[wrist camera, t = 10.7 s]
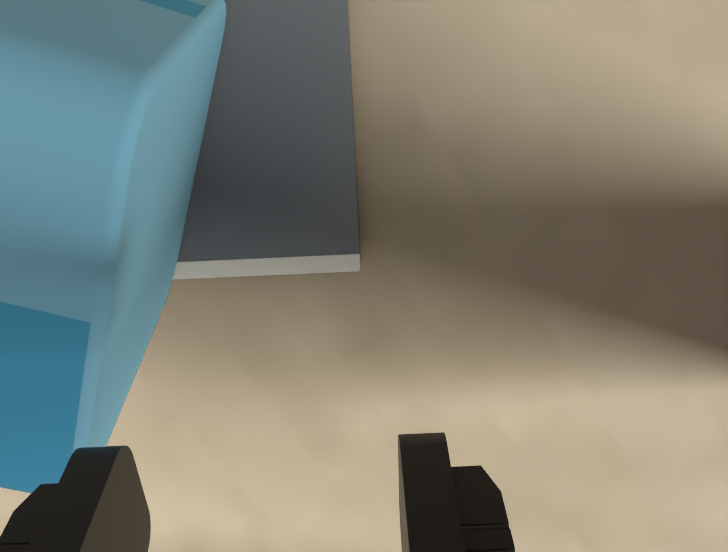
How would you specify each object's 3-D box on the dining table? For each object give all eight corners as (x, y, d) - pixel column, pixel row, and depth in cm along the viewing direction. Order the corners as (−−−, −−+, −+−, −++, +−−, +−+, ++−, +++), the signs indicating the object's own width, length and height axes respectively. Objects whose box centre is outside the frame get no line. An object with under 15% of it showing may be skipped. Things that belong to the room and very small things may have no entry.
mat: (344, -55, 23) (344, -53, 22) (360, 263, 29) (360, 271, 28) (-387, -22, 23) (-406, -19, 22) (-216, 288, 29) (-227, 297, 28)
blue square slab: (93, -55, 22) (-132, 19, 12) (233, -10, 23) (139, 98, 12) (59, 260, 28) (-111, 496, 17) (172, 288, 29) (73, 529, 18)
